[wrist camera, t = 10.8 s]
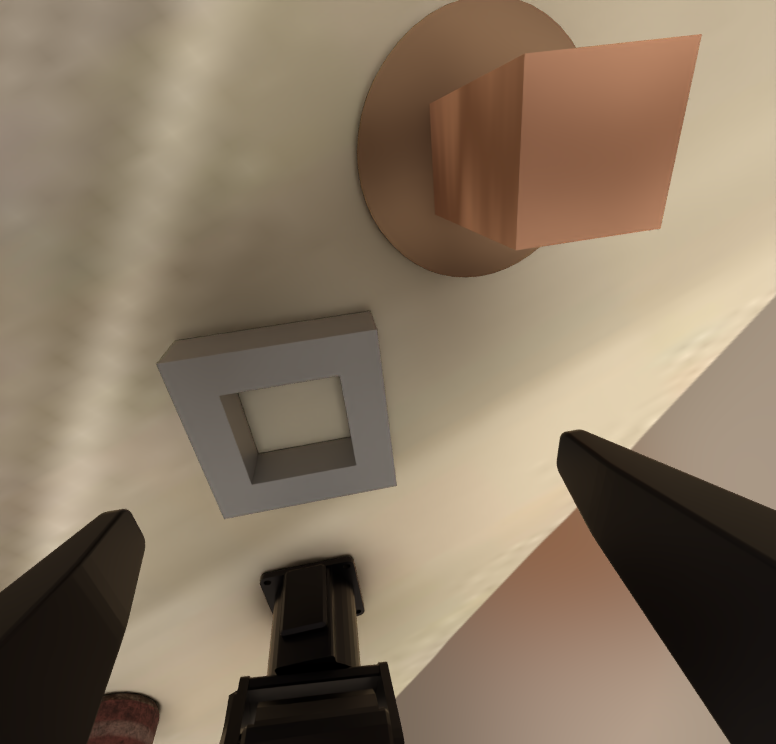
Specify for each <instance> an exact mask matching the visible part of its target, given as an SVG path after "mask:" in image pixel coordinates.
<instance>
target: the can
mask: <svg viewBox="0 0 776 744" xmlns="http://www.w3.org/2000/svg"><path fill="white" fill-rule="evenodd" d="M158 722H159V710H158V706H157V705H156V703H155V702H154V701H153V700H151V699H150V698H148V697H145V696H142V695H139V694H131V693H115V694H109V695H104V696H103V698H102V701H101V704H100V707H99V710H98V713H97V716H96V719H95V722H94V725H93V728H92V731H91V734H90V737H89V739H88V742H87V744H153V740H154V736H155V733H156V729H157V726H158Z"/></svg>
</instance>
